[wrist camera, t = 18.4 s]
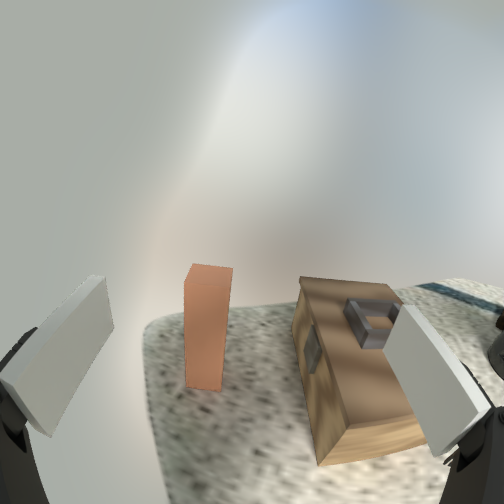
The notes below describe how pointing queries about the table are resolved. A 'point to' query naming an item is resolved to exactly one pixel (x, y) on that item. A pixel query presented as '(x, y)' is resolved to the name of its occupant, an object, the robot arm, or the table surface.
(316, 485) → the table surface
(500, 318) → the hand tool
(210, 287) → the wooden peg
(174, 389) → the table surface
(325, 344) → the wooden socket base
